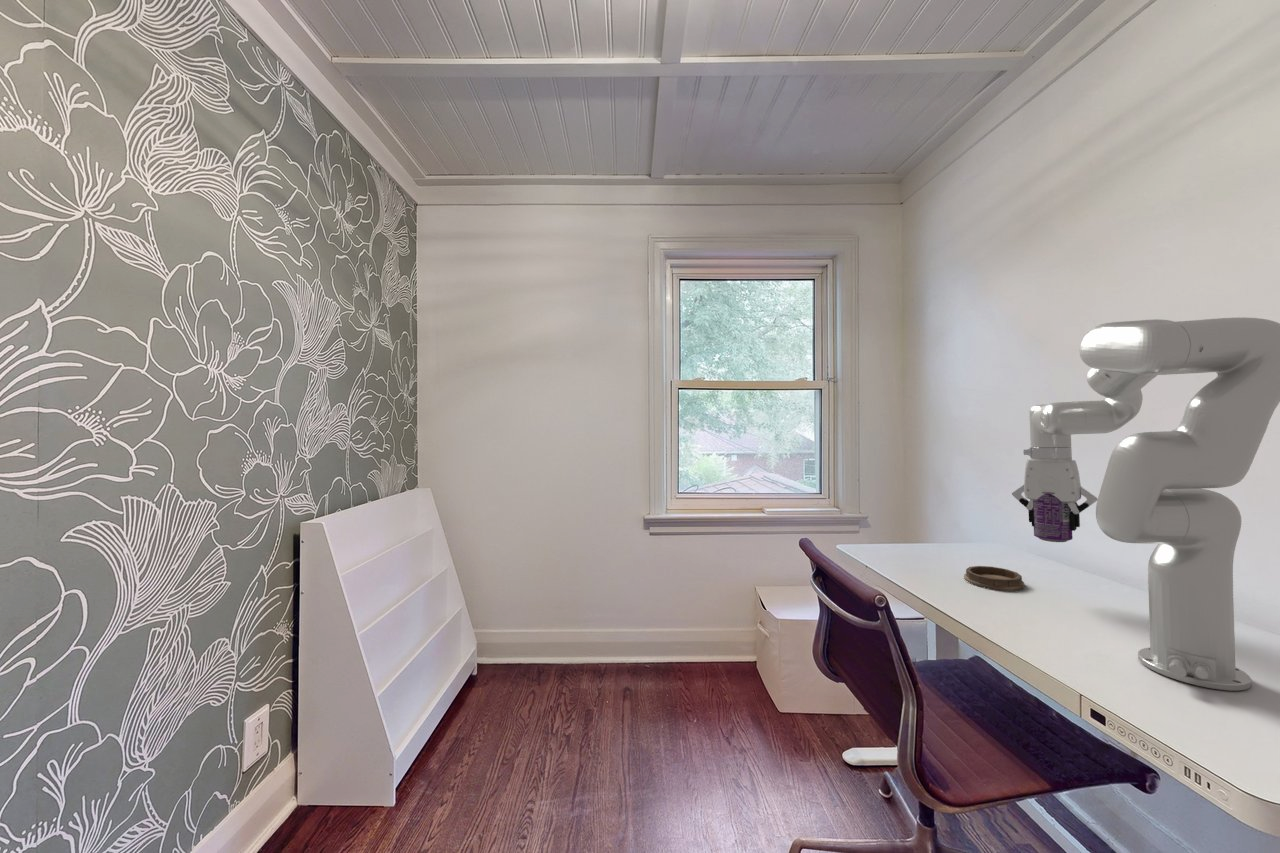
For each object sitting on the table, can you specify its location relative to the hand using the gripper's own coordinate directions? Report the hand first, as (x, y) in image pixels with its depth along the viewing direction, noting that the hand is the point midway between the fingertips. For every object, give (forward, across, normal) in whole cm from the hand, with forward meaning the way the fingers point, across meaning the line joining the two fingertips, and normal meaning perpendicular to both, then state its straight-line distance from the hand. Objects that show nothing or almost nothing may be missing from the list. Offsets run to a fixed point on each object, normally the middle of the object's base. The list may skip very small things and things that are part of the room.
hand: (1053, 527), depth 115 cm
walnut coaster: (+17, -13, +2) cm, 22 cm away
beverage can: (+3, 0, 0) cm, 3 cm away
